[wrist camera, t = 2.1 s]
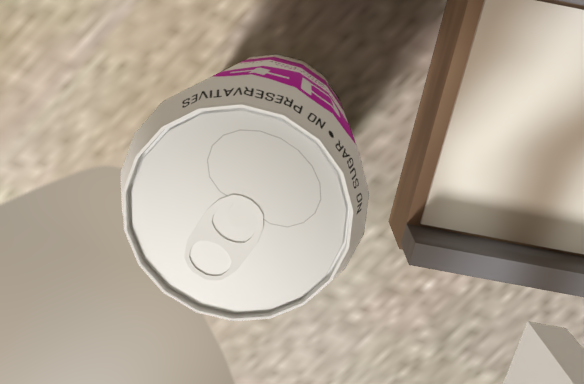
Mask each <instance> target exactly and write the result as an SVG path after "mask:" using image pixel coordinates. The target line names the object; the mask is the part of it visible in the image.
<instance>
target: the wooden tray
mask: <svg viewBox="0 0 584 384" xmlns="http://www.w3.org/2000/svg"><path fill="white" fill-rule="evenodd" d="M389 224H390V226H391V229H392V231H393V234H394V236H395V239H396V242H397V244H398V247H399V249H403V251H404V253H405V256H406V258H407V261H408V263H409V265H413V266H418V267H424V268H429V269H435V270H440V271H445V272H451V273H456V274H461V275H467V276H472V277H478V278H483V279H488V280H494V281H499V282H505V283H510V284H515V285H521V286H526V287H532V288H537V289H542V290H548V291H553V292H558V293H564V294H569V295H575V296H580V297H584V0H447V4H446V8H445V11H444V15H443V19H442V23H441V26H440V30H439V34H438V38H437V41H436V45H435V49H434V53H433V56H432V60H431V64H430V68H429V72H428V75H427V79H426V83H425V87H424V90H423V94H422V98H421V102H420V105H419V109H418V113H417V117H416V120H415V124H414V128H413V132H412V135H411V139H410V143H409V147H408V151H407V154H406V158H405V162H404V166H403V169H402V173H401V177H400V181H399V184H398V188H397V192H396V196H395V199H394V203H393V207H392V211H391V214H390V218H389Z"/></svg>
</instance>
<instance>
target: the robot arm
mask: <svg viewBox="0 0 584 384" xmlns="http://www.w3.org/2000/svg"><path fill="white" fill-rule="evenodd" d="M503 384H584V349H583V348H582V346H581V345H580V344H579V343H578V342H577V341H576V339H575V338H574V337H573V336H572V335H571V334H570V332H569V331H568V330H567V329H566V328H562V327H557V326H551V325H546V324H540V323H535V322H529V321H527V324H526V327H525V329H524V332H523V334H522V337H521V339H520V342H519V344H518V347H517V350H516V352H515V355H514V357H513V360H512V362H511V365H510V367H509V370H508V373H507V375H506V378H505V380H504V383H503Z"/></svg>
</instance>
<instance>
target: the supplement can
mask: <svg viewBox="0 0 584 384" xmlns="http://www.w3.org/2000/svg"><path fill="white" fill-rule="evenodd" d="M121 197H122V214H123V217H124V231H125V233H126V236H127V238H128V241H129V243H130V246H131V248H132V250H133V253H134V255H135V258H136V260H137V262H138V265H139V266H140V267H141V268H142V269H143V270H144V272H145V273H146V274H147V275H148V276H149V277H150V278H151V279H152V280H153V282H154V283H155V284H156V285H157V286H158V287H159V288H160V290H161V291H162V292H163V293H164V294H166V295H168V296H170V297H171V298H173V299H175V300H176V301H178V302H179V303H181V304H183V305H185V306H187V307H188V308H190V309H191V310H193V311H195V312H197V313H201V314H205V315H209V316H213V317H217V318H222V319H226V320H230V321H243V320H258V319H270V318H273V317H275V316H278V315H280V314H283V313H285V312H288V311H290V310H293V309H295V308H298V307H300V306H303V305H305V304H306V303H307V302H308V301H309V300H310V299H312V298H313V297H314V296H315V295H316V294H317V293H318V292H320V291H321V290H322V289H323V288H324V287H325V286H326V285H328V284H329V283H330V282H331V281H332V280H333V279H334V278H335V277H336V276H337V275H338V274H340V273H341V272H342V271H343V270H344V269H345V268H346V266H347V264H348V262H349V260H350V259H351V257H352V255H353V253H354V251H355V249H356V247H357V246H358V244H359V242H360V240H361V238H362V236H363V235H364V229H365V221H366V214H367V206H368V198H369V191H368V187H367V183H366V179H365V175H364V171H363V167H362V163H361V159H360V154H359V151H358V148H357V145H356V143H355V140H354V137H353V135H352V132H351V129H350V127H349V124H348V121H347V118H346V116H345V113H344V110H343V108H342V105H341V102H340V99H339V97H338V96H337V94H336V93H335V91H334V90H333V88H332V87H331V85H330V84H329V82H328V81H327V80H326V78H325V77H324V76H323V75H322V74H321V73H319V72H318V71H316V70H315V69H313V68H312V67H311V66H309V65H308V64H306V63H305V62H304V61H301V60H297V59H294V58H290V57H286V56H282V55H279V54H274V55H264V56H255V57H250V58H248V59H246V60H244V61H242V62H240V63H238V64H236V65H234V66H232V67H230V68H228V69H226V70H224V71H222V72H220V73H218V74H216V75H214V76H212V77H210V78H208V79H206V80H204V81H202V82H200V83H198V84H196V85H194V86H192V87H190V88H188V89H186V90H184V91H182V92H180V93H178V94H176V95H174V96H172V97H170V98H168V99H166V100H164V101H163V102H162V103H161V104H160V105H159V106H158V107H157V108H156V110H155V111H154V112H153V113H152V114H151V115H150V116H149V118H148V119H147V120H146V121H145V122H144V123H143V124H142V126H141V127H140V128H139V129H138V130H137V131H136V132H135V134H134V136H133V139H132V142H131V145H130V148H129V150H128V153H127V156H126V159H125V162H124V165H123V168H122V170H121Z"/></svg>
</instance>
